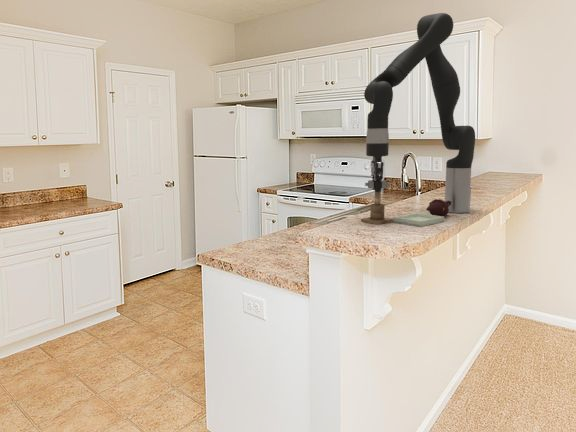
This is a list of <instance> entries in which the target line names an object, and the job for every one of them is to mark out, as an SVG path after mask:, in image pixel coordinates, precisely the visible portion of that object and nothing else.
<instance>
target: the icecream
mask: <svg viewBox="0 0 576 432" xmlns="http://www.w3.org/2000/svg"><path fill="white" fill-rule="evenodd" d="M450 205H451V201H445V200H443V199H433V200H432V201H430V202H429V204H428V206H427V207H426V208H425V210H426V211H428V212H429V215H435V216H442V217H445V216H446V215H448V213H449V212H448V211H449V208H448V207H449V206H450Z"/></svg>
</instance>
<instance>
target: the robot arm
mask: <svg viewBox="0 0 576 432" xmlns="http://www.w3.org/2000/svg"><path fill="white" fill-rule="evenodd" d="M453 29H454V21H453V18H452V16H451V15H450V14H448V13H446V12H445V13H444V12H438V13H432V14H427V15H424V16H422V17H420V19H419V20H418V22H417V25H416V34H417V38H418V40H417V41H416V42H415V43H413V44H412V45H410V46H409V47H407V48H406V49H405V50H403V51H401V53H399V54H397V56H396V57H395V58H394V59H393V60H392V61H391V62H390V63H389V65H388V66H387V67H386V68H385V70H383V71H382V72H381V73H380V74H378V75H376V77H375V78H373V79H372V81H370V82H369V83H368V85H367V86H366V87H365V90H364V93H363V95H364V96H363V97H364V99H365V101H366V102H367V103H368V104H371V105H372V110H371V111H370V112H369V113H368V114H367V119H366V120H367V125H366V126H367V130H366V137H365V138H366V146H365V147H366V148H365V149H366V151H365V152H366V153H365V155H366V157H372V160H370V173H371V174H370V175H371V180H375V189H372V190H373V191H374V193H375V192H381V193H382V189H381V181H382V180H384V165H385V162H384V161H382V157H387V156H389V147H390V146H389V143H390V141H389V139H390V136H389V115H390V112H391V108H392V103H393V100H394V99H393V98H394V91H393V88H394V87H397V86H399V85H400V84H401V83H402V82H403V81H404V80H405V79H406V78H407V77H408V76H409V74H410V73H411V72H412V71H413V69H415V68H416V66H417V65H419V64H420V63H421V61H423V60H424V59H425V61H426V66H427V69H428V74H429V77H430V80H431V81H430V83H431V88H432V91H433V95H434V99H435V102H436V106H437V107H436V108H437V112H438V117H439V123H440V133H441V137H442V143H443V146H444V147H445V149H447V150H449V151H450V150H451V151H452V150H453V151H458V153H457V155H456V156H454V157H453V158H450V159H447V161H446V163H445V166H446V167H445V185H444V186H445V189H444V201H451V205H450V206H449V207H448V208H449V211H448V213H452V214H453V213H455V214H465V213H466V214H467V213H470V210H471V196H472V195H471V194H472V187H471V181H472V180H471V179H472V164H473V161H474V154H475V144H476V132H475V128H474V127H473V126H471V125H456V124H455V119H454V112H455V109H456V106H457V104H458V101H459V99H460V95H461V86H460V81H459V76H458V74H457V71H456V70H455V68H454V67H453V65H452V64H451V63H450V61H449V60H448V59H447V57H446V56H445V54H444V53H443V50H442V47H441V45H442V43H444V42H445V41H446V40H447V39H449V38H450V36H451V35H452V33H453Z"/></svg>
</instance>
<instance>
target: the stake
mask: <svg viewBox="0 0 576 432" xmlns="http://www.w3.org/2000/svg"><path fill="white" fill-rule="evenodd" d="M381 193H382V191H381V192H375V191H374V203H371V204H370V212H369V213H370V215H369V217H364V218H361V219H360V222H361V221H362V223H368V224H372V225H373V224H374V225H377V226H378V225H385V224H389V223H390V224H391V223H394V222H393V218H389V217H385V204H384V203H383V204H382V203H381V198H382V197H381V195H382V194H381Z"/></svg>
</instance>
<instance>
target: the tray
mask: <svg viewBox="0 0 576 432" xmlns="http://www.w3.org/2000/svg"><path fill="white" fill-rule="evenodd" d="M392 219H393V222H392V223H396V224H400V225H401V224H402V225H408V226H413V227H419V228H421V227H426V226H432V225H436V224H441V223H445V216H435V215H431V214H428V213H427V214H426V213H420V212H414V213H413V212H412V213H409V214H402V215H397V216H393V217H392Z"/></svg>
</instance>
